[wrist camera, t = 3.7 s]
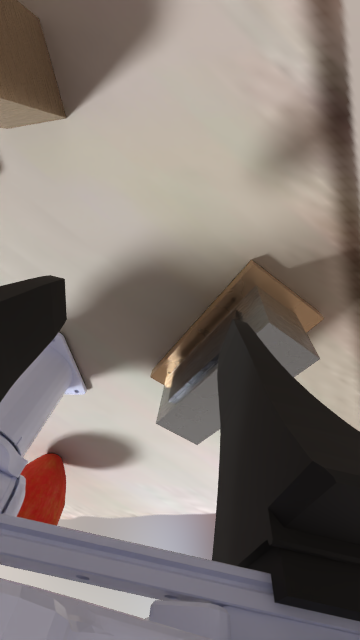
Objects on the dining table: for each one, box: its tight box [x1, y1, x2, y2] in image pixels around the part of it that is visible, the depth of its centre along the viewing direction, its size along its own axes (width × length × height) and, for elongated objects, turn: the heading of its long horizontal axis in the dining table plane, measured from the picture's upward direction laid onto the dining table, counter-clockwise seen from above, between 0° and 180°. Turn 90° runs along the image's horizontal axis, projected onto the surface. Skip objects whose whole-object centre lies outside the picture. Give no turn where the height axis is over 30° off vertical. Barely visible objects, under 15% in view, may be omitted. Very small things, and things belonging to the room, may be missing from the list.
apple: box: [17, 453, 66, 526], centre depth 32 cm, size 9×8×11 cm
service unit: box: [151, 260, 324, 445], centre depth 20 cm, size 7×14×6 cm, turn 146°
